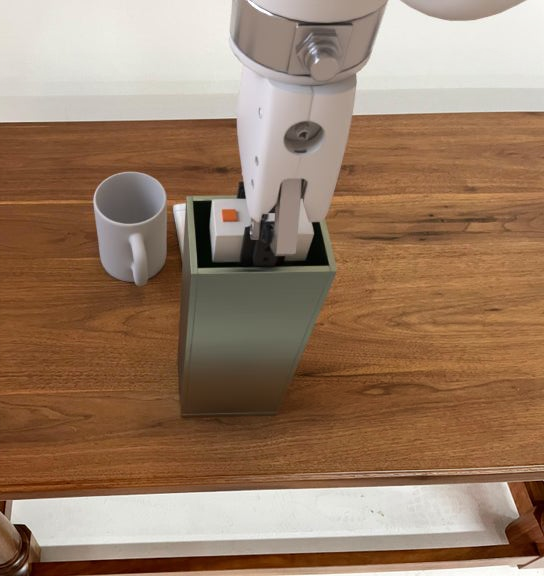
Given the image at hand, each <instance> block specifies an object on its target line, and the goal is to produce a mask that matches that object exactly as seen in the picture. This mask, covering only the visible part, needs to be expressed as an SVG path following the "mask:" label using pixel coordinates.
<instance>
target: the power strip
mask: <svg viewBox="0 0 544 576" xmlns="http://www.w3.org/2000/svg"><path fill="white" fill-rule="evenodd" d="M274 220H275V213H268V214H264V219H263V220H262V221H274ZM250 222H251V216H250V215H249V211H248V207H247V201H246V199H213V200H212V207H211V217H210V238H211V249H212V260H213V262H240V253H241V247H242V242H243V236H244V230H245V227H248V226H250ZM313 235H314V231H313V226H312V222H309V220H308V217H307V214H306V211H305V208H304V204H303V199H301V202H300V213H299V225H298V236H297V248H296V254H295V256H285V260H284V261H301V260H306V257H307V253H308V250H309V247H310V244H311V241H312V238H313Z"/></svg>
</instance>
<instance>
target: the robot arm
mask: <svg viewBox="0 0 544 576" xmlns="http://www.w3.org/2000/svg"><path fill="white" fill-rule="evenodd" d="M231 1H232V2H231V10H230V20H229V31H228V32H229V33H228V42H229V43H228V44H229V48H230V49H231V52H232V54H234V57H236V58H237V60H238V61H239V62H240V63H241V64H242V67H241V72H240V79H239V88H238V96H237V106H236V107H237V108H236V109H237V111H236V134H237V142H238V150H239V151H238V152H239V158H240V160H239V161H240V167H241V180H242V181H238V185H237V193H236V195H237V199H246V201H247V207H248V211H249V215H250V216H251V222H250V226H248V227H245V230H244V236H243V242H242V247H241V253H240V265H241V266H242V267H272V266H281V265H283V263H284V260H285V256H295V254H296V248H297V236H298V225H299V213H300V202H301V199H303V204H304V208H305V211H306V214H307V217H308V220H309V222H321V221H322V220H323V219H324V218H325V219H326V217H327V215H328V213H329V211H330V208H331V204H332V200H333V197H334V193H335V190H336V186H337V182H338V179H339V176H340V171H341V168H342V164H343V161H344V160H343V159H344V156H345V152H346V148H347V143H348V140H349V135H350V130H351V125H352V120H353V114H354V107H355V100H356V92H357V84H358V83H357V82H358V81H357V79H358V76H357V73H359V72H360V71H361V70H362V69H364V67H365V66H366V65H367V64H368V62H369V60H370V58H371V56H372V53H373V50H374V46H375V44H376V40H377V37H378V34H379V31H380V28H381V25H382V21H383V19H384V16H385V13H386V10H387V6H388V3H389V1H390V0H231ZM399 1H400V2H402V3H403V4H405V5H406V6H407V7H409V8H411V9H413V10H415V11H416V12H419V13H421V14H423V15H424V16H425V15H426V16H427V17H431V18H435V19H439V20H443V21H449V22H468V21H469V22H470V21H476V20H480V19H484V18H489V17H493V16H496V15H499V14H502V13H504V12H507V11H508V10H510V9H512V8H514V7H516V6H519V5H520V4H522V3H524V2H527V0H399ZM268 213H275V220H274V221H262V220H263V219H264V214H268Z"/></svg>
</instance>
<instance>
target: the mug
mask: <svg viewBox="0 0 544 576" xmlns="http://www.w3.org/2000/svg"><path fill="white" fill-rule="evenodd" d="M167 207H168V198H167V192H166V190H165V188H164V186H163V185H162V184H161V182H159V180H157V179H156V178H154V177H153V176H151V175H149V174H147V173H144V172H138V171H123V172H119V173H116V174H113V175H111V176H108V177H107V178H105V179H104V180H103V181H102V182H100V184H99V185H98V186H97V188H96V189H95V192H94V195H93V211H94V219H95V226H96V227H95V228H96V233H97V240H98V251H99V258H100V259H99V260H100V263H101V265H102V267H103V269H104V270H105V271H106V273H108V275H110V276H111V277H112V278H115V279H117V280H119V281H123V282H127V283H134V284H135V285H136V286H138V287H144V286H146V285H147V283H148V280H149V279H151V278H152V277H155V276H156V275H158V274H159V272H161V270H162V269H163V267H164V265H165V263H166V261H167V255H168V254H167V249H168V248H167V247H168V246H167V231H168V230H167V229H168V228H167V227H168V226H167V225H168V224H167V223H168V222H167V220H168V213H167V212H168V208H167Z"/></svg>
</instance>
